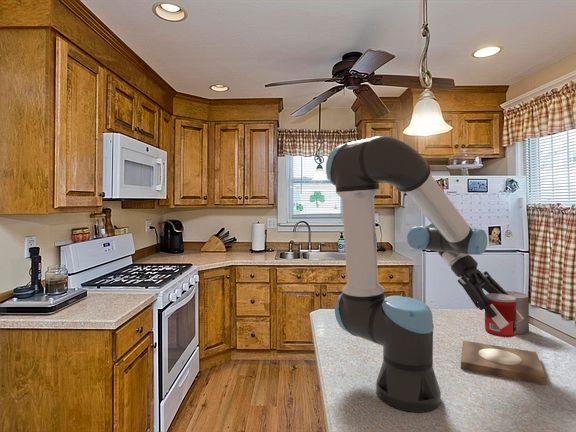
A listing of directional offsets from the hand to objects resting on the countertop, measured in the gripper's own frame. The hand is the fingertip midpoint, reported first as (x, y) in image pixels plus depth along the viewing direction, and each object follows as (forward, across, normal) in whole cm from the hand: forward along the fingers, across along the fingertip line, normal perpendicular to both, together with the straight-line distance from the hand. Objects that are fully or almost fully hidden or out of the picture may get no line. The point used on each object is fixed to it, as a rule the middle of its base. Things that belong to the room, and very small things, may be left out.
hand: (512, 323), depth 100 cm
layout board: (+7, +1, -11) cm, 13 cm away
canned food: (0, 0, -5) cm, 5 cm away
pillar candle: (-2, -33, -20) cm, 39 cm away
